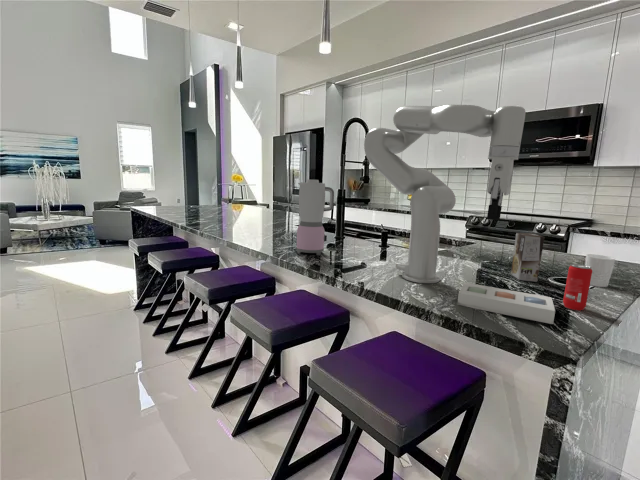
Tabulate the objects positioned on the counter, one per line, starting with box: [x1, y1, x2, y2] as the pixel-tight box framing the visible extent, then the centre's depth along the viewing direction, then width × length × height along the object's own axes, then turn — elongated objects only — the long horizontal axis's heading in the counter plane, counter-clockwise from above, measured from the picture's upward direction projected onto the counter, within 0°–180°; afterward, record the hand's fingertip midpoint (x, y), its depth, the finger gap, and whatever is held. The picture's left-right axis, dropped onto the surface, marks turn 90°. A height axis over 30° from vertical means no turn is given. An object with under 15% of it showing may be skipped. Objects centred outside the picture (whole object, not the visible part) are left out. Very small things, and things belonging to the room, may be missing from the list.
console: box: [456, 282, 556, 325], centre depth 94 cm, size 22×12×3 cm, turn 60°
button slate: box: [526, 297, 544, 305], centre depth 90 cm, size 4×4×3 cm
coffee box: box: [510, 232, 545, 283], centre depth 124 cm, size 9×6×16 cm
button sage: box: [469, 287, 485, 294], centre depth 97 cm, size 4×4×3 cm
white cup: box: [584, 253, 616, 288], centre depth 120 cm, size 8×8×10 cm
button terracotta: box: [497, 292, 513, 299], centre depth 94 cm, size 4×4×3 cm
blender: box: [295, 178, 335, 256], centre depth 150 cm, size 16×12×32 cm
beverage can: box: [562, 263, 592, 312], centre depth 95 cm, size 5×5×12 cm
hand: (493, 219), depth 99 cm, fingers closed
